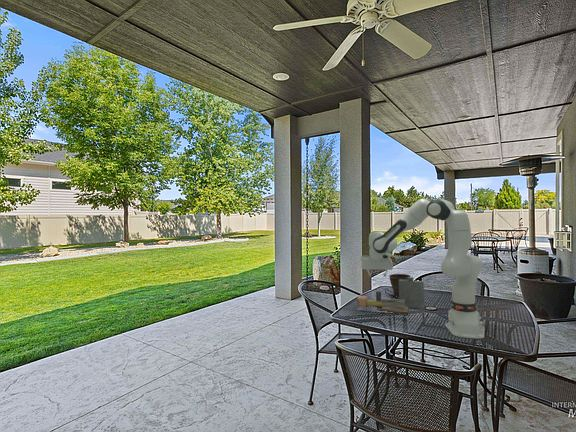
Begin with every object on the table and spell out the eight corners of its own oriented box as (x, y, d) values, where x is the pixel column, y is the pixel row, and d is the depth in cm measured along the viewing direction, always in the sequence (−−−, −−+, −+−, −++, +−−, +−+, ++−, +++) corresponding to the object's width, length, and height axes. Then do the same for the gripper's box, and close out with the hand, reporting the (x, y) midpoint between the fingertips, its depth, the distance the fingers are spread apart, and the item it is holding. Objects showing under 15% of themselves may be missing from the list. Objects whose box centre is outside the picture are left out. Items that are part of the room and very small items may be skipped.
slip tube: (386, 306, 203) (386, 292, 203) (361, 305, 209) (361, 291, 209) (387, 305, 206) (386, 291, 206) (362, 303, 212) (362, 290, 212)
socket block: (366, 307, 207) (365, 298, 207) (357, 307, 209) (357, 298, 209) (367, 304, 213) (367, 296, 213) (359, 304, 215) (359, 295, 215)
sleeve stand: (408, 314, 193) (407, 304, 193) (356, 310, 205) (355, 300, 205) (408, 308, 206) (408, 298, 206) (359, 304, 218) (359, 295, 218)
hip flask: (425, 307, 207) (423, 277, 206) (424, 309, 203) (422, 278, 203) (400, 304, 215) (399, 275, 215) (398, 306, 212) (397, 276, 212)
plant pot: (388, 298, 230) (387, 277, 230) (392, 293, 244) (391, 273, 243) (410, 300, 223) (409, 278, 223) (412, 295, 237) (411, 274, 236)
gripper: (359, 255, 208) (360, 276, 207) (392, 256, 200) (393, 277, 200) (361, 254, 213) (362, 274, 213) (392, 254, 206) (393, 275, 206)
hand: (377, 276), depth 206 cm, fingers open, 8 cm apart
